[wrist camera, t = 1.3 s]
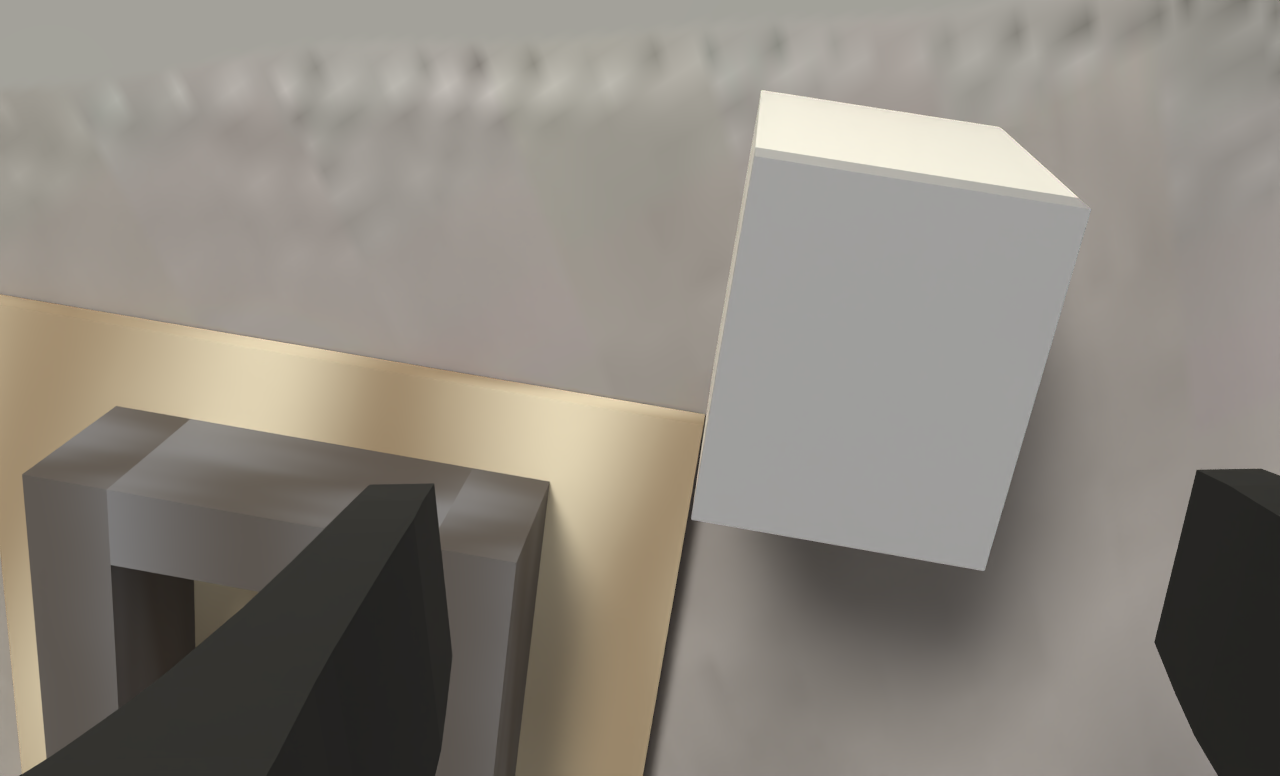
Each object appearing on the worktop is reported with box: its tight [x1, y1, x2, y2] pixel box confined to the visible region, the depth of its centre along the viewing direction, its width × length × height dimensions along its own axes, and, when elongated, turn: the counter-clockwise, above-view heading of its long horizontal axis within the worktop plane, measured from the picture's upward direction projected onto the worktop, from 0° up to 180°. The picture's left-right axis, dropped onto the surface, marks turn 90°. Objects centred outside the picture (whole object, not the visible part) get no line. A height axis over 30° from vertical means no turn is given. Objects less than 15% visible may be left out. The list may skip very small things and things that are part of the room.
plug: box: [691, 90, 1091, 571], centre depth 17 cm, size 4×5×6 cm
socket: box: [0, 295, 705, 776], centre depth 23 cm, size 14×13×4 cm
